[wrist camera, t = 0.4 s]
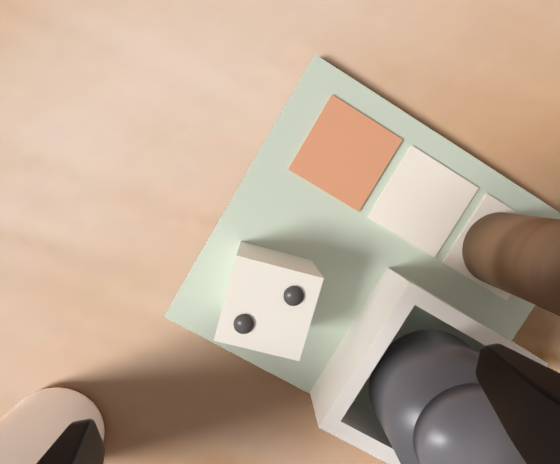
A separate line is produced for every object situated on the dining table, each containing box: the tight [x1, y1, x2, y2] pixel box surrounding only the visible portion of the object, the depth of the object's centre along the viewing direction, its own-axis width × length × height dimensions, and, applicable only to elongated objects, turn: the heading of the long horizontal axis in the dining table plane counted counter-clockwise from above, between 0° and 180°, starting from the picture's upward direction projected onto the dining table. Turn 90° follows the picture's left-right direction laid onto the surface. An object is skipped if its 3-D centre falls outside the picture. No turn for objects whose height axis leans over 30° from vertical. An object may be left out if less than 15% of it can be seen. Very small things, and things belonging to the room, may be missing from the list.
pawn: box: [462, 212, 560, 316], centre depth 18 cm, size 4×4×6 cm
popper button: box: [369, 330, 526, 464], centre depth 17 cm, size 6×6×5 cm
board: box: [164, 54, 560, 464], centre depth 20 cm, size 18×16×4 cm
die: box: [214, 241, 324, 361], centre depth 19 cm, size 4×4×4 cm
